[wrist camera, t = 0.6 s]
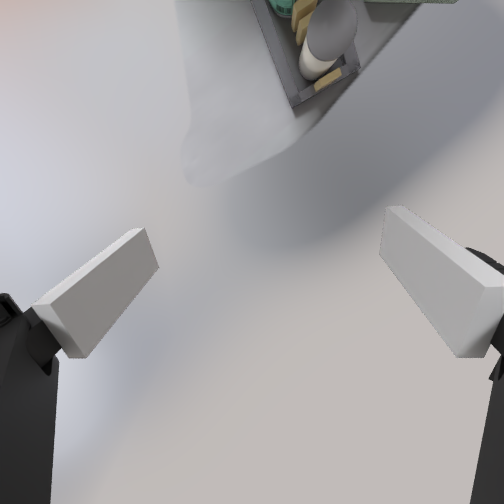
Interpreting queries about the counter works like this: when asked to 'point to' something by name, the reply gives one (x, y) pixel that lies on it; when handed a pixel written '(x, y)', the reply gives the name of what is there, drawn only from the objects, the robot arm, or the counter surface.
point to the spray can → (282, 7)
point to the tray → (414, 1)
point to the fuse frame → (299, 24)
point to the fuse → (327, 37)
